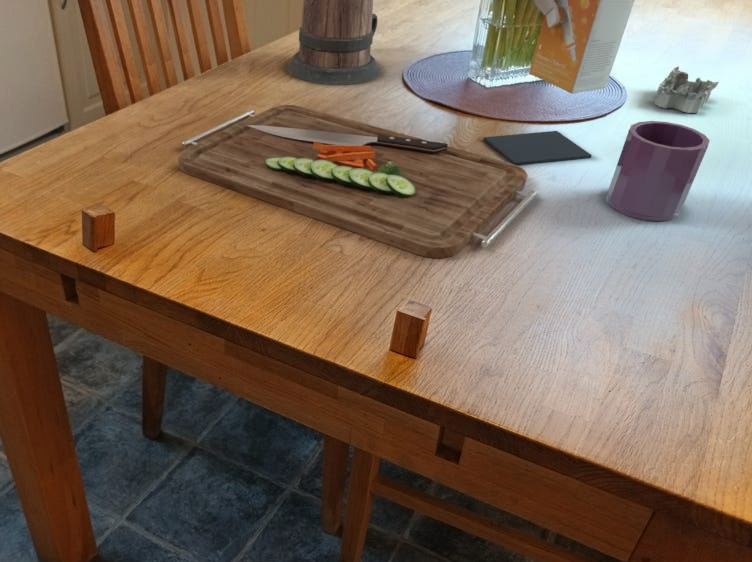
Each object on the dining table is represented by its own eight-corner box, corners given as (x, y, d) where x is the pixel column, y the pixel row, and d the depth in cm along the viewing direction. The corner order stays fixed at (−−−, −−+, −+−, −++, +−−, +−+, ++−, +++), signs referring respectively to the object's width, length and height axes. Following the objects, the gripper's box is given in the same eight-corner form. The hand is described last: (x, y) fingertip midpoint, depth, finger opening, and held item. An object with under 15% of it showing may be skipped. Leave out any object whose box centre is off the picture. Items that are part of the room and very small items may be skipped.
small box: (527, 75, 97) (555, -33, 89) (562, 70, 99) (592, -36, 91) (571, 94, 91) (605, -19, 83) (607, 89, 94) (643, -22, 86)
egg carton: (667, 89, 124) (676, 64, 121) (714, 100, 120) (724, 74, 117) (647, 105, 117) (656, 79, 115) (695, 117, 113) (706, 90, 111)
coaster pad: (555, 133, 107) (556, 130, 107) (591, 157, 101) (591, 154, 100) (483, 139, 105) (483, 137, 105) (514, 165, 98) (515, 162, 98)
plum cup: (649, 186, 94) (675, 118, 88) (695, 217, 87) (726, 146, 82) (592, 192, 92) (614, 124, 86) (634, 224, 86) (661, 152, 80)
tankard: (354, 91, 120) (367, -44, 107) (268, 72, 126) (270, -57, 114) (409, 56, 135) (426, -66, 123) (330, 41, 142) (338, -76, 129)
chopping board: (154, 162, 97) (152, 140, 95) (270, 106, 114) (270, 86, 112) (466, 271, 77) (471, 246, 75) (549, 183, 94) (556, 161, 92)
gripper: (504, -97, 86) (526, 12, 85) (650, -99, 90) (673, 5, 89) (479, -62, 92) (499, 41, 91) (617, -65, 97) (637, 33, 95)
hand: (586, 23), depth 90 cm, fingers closed on small box, 7 cm apart
